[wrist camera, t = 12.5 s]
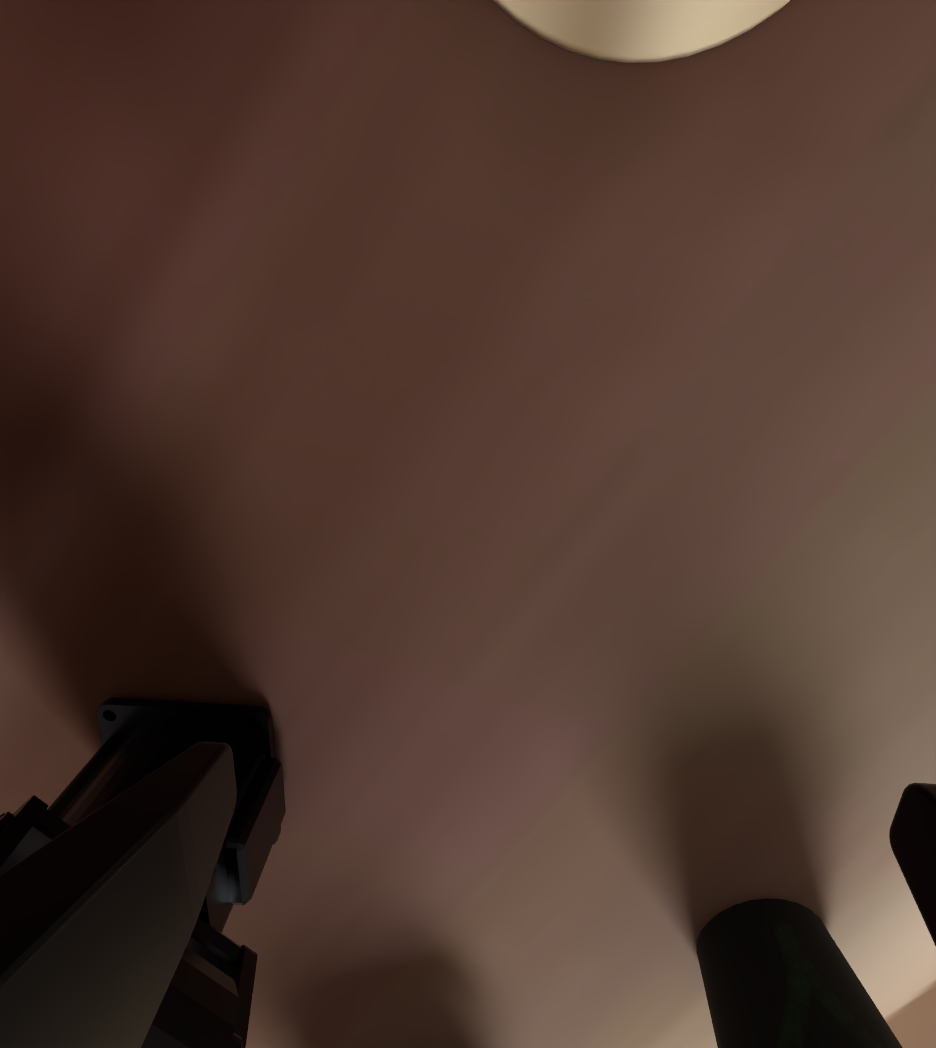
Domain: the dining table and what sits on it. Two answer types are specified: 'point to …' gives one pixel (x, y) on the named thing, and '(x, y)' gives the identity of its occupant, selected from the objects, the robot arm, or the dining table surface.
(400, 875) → the dining table surface
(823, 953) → the cup
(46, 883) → the robot arm
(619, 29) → the cork mat
